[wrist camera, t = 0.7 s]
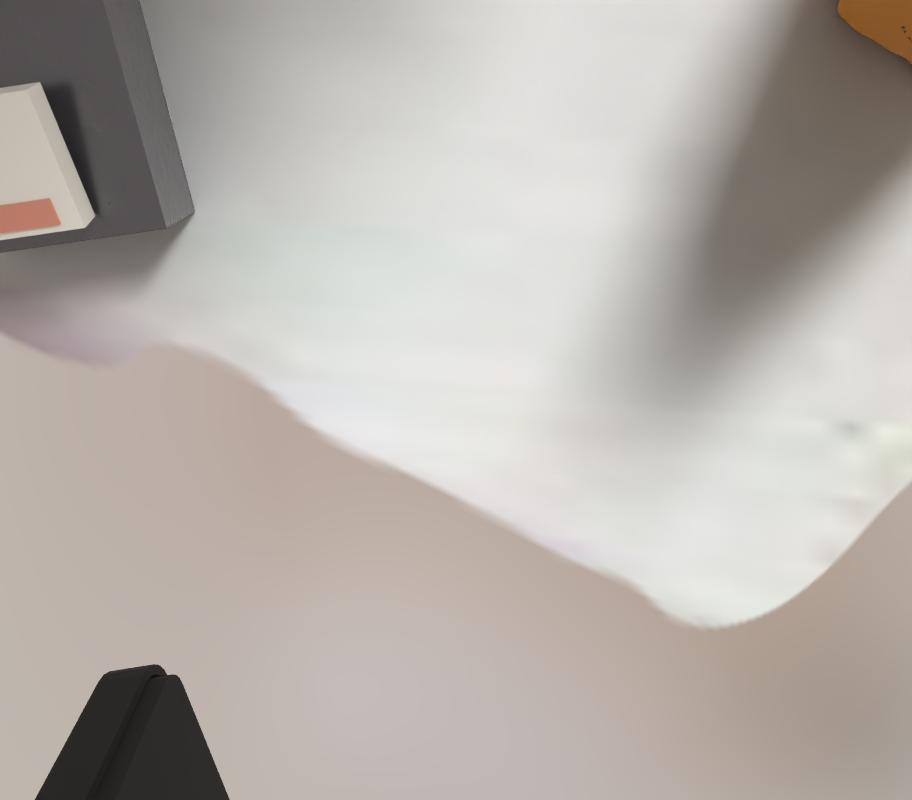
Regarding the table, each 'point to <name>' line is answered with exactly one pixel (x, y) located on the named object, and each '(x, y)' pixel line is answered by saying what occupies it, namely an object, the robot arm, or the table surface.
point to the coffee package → (881, 22)
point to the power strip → (99, 110)
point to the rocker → (36, 169)
